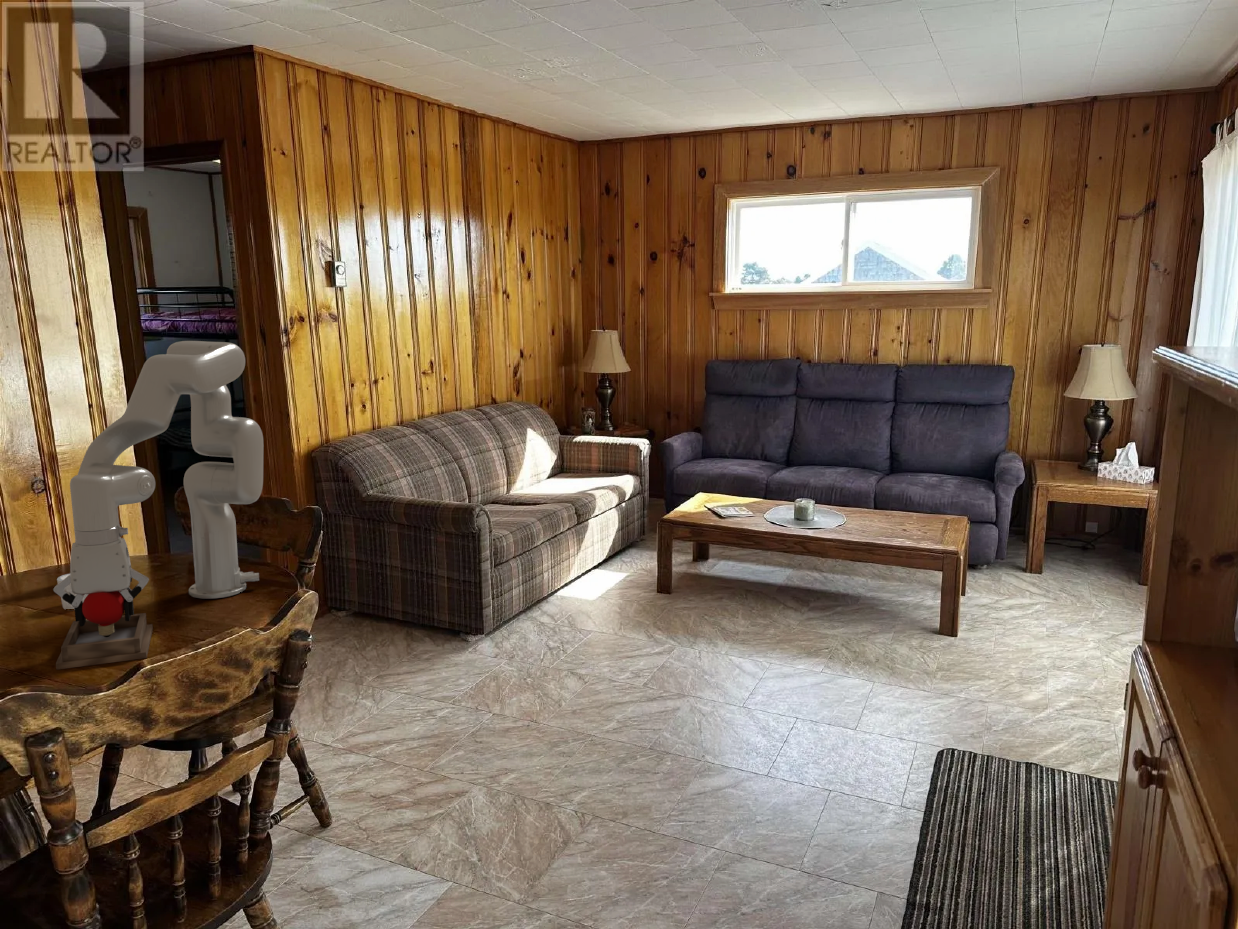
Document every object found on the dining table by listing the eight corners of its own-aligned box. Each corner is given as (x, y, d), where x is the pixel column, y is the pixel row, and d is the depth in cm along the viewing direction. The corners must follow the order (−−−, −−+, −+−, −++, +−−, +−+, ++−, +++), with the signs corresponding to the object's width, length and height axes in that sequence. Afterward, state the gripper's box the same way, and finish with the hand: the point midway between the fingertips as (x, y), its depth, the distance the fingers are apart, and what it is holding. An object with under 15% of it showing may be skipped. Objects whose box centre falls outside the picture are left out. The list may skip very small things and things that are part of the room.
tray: (152, 629, 181) (151, 611, 180) (146, 658, 167) (145, 638, 166) (69, 639, 175) (68, 620, 174) (56, 669, 161) (54, 649, 160)
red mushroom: (100, 628, 175) (96, 581, 173) (136, 627, 175) (132, 581, 174) (76, 646, 166) (71, 597, 164) (113, 645, 166) (109, 597, 164)
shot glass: (78, 612, 190) (75, 582, 189) (52, 609, 191) (49, 579, 190) (102, 602, 197) (99, 573, 195) (77, 599, 198) (74, 570, 197)
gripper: (149, 527, 174) (156, 609, 177) (48, 535, 166) (57, 620, 170) (146, 536, 167) (153, 622, 170) (41, 545, 160) (50, 634, 163)
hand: (105, 620), depth 170 cm, fingers closed on red mushroom, 7 cm apart
